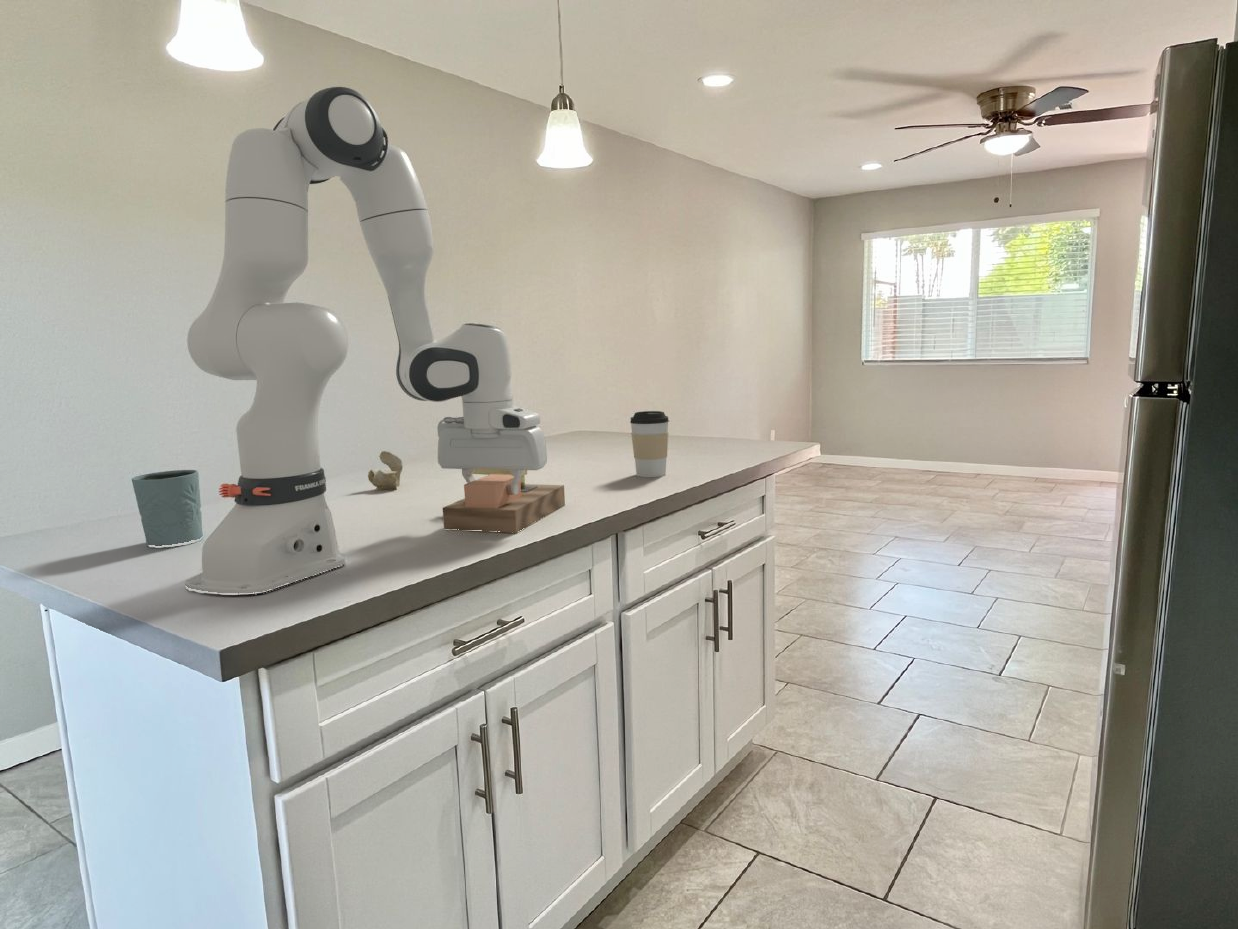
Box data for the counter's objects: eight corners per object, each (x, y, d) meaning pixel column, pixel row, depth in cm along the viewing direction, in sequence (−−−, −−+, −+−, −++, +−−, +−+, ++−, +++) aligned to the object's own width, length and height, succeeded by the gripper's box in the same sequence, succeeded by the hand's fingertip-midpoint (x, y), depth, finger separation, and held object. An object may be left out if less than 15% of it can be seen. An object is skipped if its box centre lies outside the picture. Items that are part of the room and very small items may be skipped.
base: (516, 533, 133) (515, 509, 133) (444, 529, 138) (442, 506, 137) (564, 505, 154) (563, 484, 153) (500, 502, 158) (499, 482, 158)
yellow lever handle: (528, 486, 151) (526, 461, 151) (521, 488, 149) (519, 464, 148) (476, 483, 157) (475, 459, 156) (469, 485, 154) (468, 461, 154)
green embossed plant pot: (173, 551, 130) (163, 480, 128) (126, 548, 133) (116, 479, 131) (220, 535, 140) (211, 469, 138) (175, 533, 143) (166, 468, 141)
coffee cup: (645, 470, 190) (643, 408, 187) (677, 472, 184) (676, 409, 182) (624, 476, 182) (621, 412, 180) (656, 479, 177) (654, 413, 175)
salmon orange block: (496, 508, 135) (494, 485, 134) (465, 507, 137) (463, 484, 136) (521, 496, 144) (520, 475, 144) (492, 495, 146) (490, 474, 146)
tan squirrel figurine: (379, 487, 171) (367, 446, 174) (368, 499, 176) (357, 459, 178) (415, 484, 177) (403, 444, 180) (403, 495, 182) (391, 457, 184)
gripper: (427, 418, 138) (433, 495, 141) (533, 418, 132) (538, 499, 134) (446, 414, 144) (451, 488, 147) (548, 414, 138) (552, 491, 140)
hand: (493, 493), depth 140 cm, fingers closed on salmon orange block, 6 cm apart
